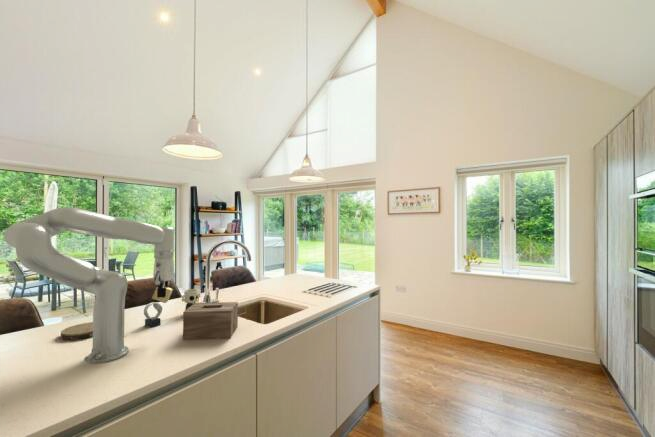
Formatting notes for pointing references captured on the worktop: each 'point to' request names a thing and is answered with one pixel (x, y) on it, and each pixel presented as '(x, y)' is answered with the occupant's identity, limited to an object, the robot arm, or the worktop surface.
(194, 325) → the coin box
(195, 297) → the character mug
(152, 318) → the watch
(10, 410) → the worktop surface
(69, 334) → the round wooden board
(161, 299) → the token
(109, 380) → the worktop surface
